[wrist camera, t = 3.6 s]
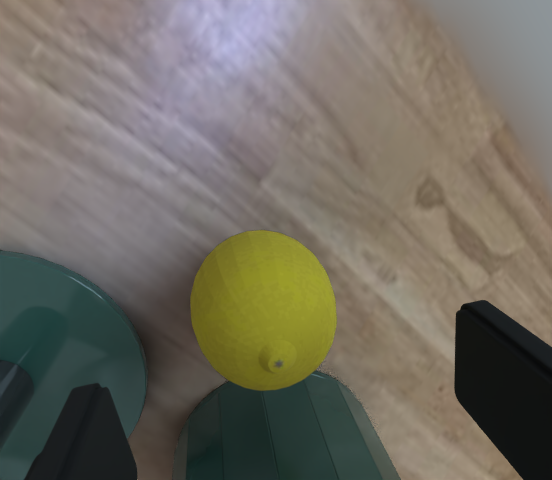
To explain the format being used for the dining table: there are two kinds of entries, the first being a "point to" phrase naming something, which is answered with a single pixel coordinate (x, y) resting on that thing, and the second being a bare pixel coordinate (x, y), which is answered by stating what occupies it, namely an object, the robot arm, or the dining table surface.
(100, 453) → the robot arm
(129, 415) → the lid
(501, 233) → the dining table surface
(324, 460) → the pot
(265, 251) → the lemon
